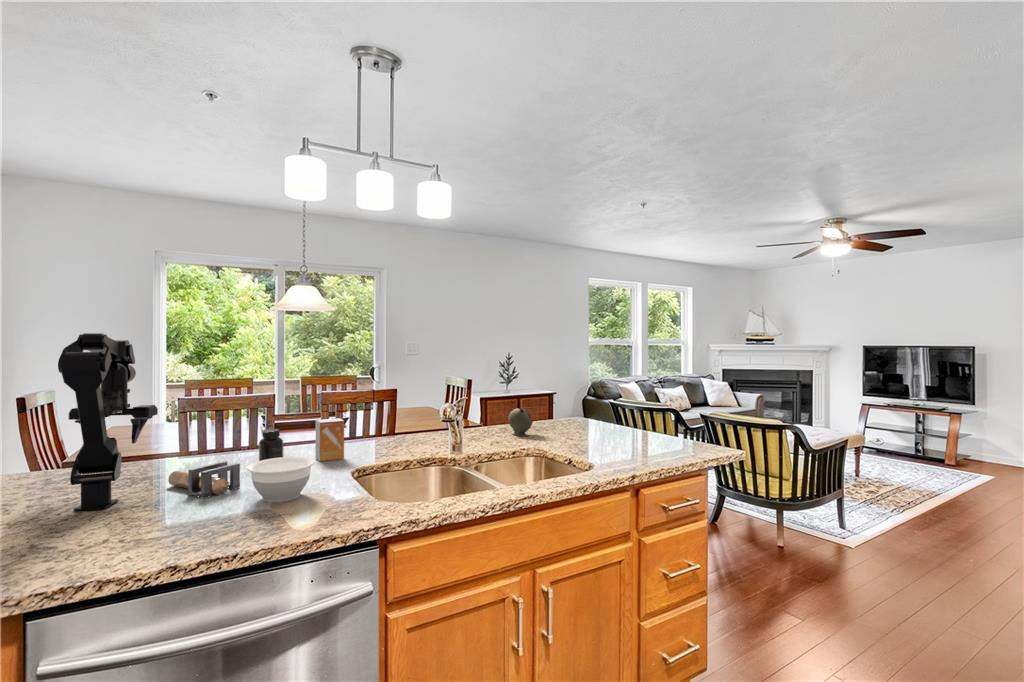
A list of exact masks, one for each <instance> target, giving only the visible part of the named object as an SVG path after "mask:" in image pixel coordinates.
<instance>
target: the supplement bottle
mask: <svg viewBox="0 0 1024 682" xmlns="http://www.w3.org/2000/svg"><path fill="white" fill-rule="evenodd" d="M280 436H281V435H280V429H279V428H268V429H264V430H262V438H261V439H260V440H259V441H258V442H259V443H258V461H262V460H266V459H272V458H280V457H284V440H283V439H282V437H280Z"/></svg>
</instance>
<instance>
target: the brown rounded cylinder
mask: <svg viewBox="0 0 1024 682" xmlns="http://www.w3.org/2000/svg"><path fill="white" fill-rule="evenodd" d="M167 480H168V483H169V485H171V486H175V487H180V488H182V489H183V488H184V489H188V490H189V471H188V472H187V471H181V470H174V471H172V472H171V473H170V474H169V476H168V479H167ZM228 482H229V481H227V480H226V479H222V478H218V477H215V476H212V495H213V494H214V495H217V496H218V495H219V494H221V495H224V494H225V493H226V492H227V490H228V489H229V488H228V486H229V483H228ZM199 490H200V491H201V474H199ZM223 493H224V494H223Z"/></svg>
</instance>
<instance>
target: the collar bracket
mask: <svg viewBox="0 0 1024 682" xmlns="http://www.w3.org/2000/svg"><path fill="white" fill-rule="evenodd" d="M228 472H229V474H228ZM188 473H189V489H188V496H191V495H194V496H193V497H196V496H199V497H198V498H200V497H207V498H209V497H208V496H210V497H212V496H213V493H212V477H213V476H214V475H217V478H222V479H226V480H227V481H228V475H230V476H229V481H228V483H229V486H228V487H229V488H228V489H230V490H232V489H234V490H236V489H235V488H237V489H239V488H238V487H240V488H241V482H240V481H241V477H240V476H241V463H238V462H236V463H232V464H228V461H220V462H216V463H212V464H207V465H203V466H199V467H194V468H191V469H188ZM199 475H201V491H200V490H199ZM211 495H212V496H211Z"/></svg>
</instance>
